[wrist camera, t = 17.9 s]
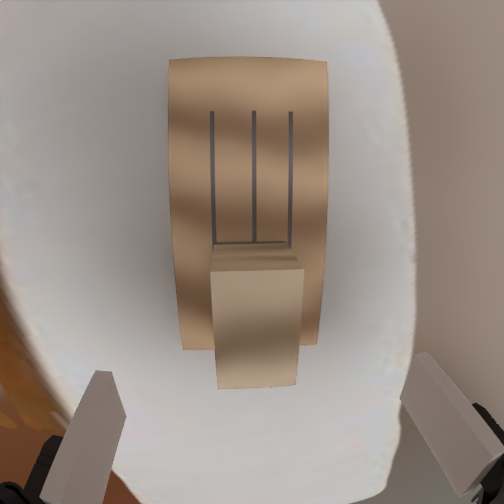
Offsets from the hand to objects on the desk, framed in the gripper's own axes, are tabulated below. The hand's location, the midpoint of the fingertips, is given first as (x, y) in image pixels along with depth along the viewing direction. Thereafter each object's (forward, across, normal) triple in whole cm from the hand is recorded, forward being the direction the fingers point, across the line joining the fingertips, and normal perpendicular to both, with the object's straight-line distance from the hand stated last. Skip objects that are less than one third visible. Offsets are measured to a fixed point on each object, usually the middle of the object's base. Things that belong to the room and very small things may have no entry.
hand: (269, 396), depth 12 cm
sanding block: (+12, 0, -1) cm, 12 cm away
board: (+14, 0, +5) cm, 15 cm away
